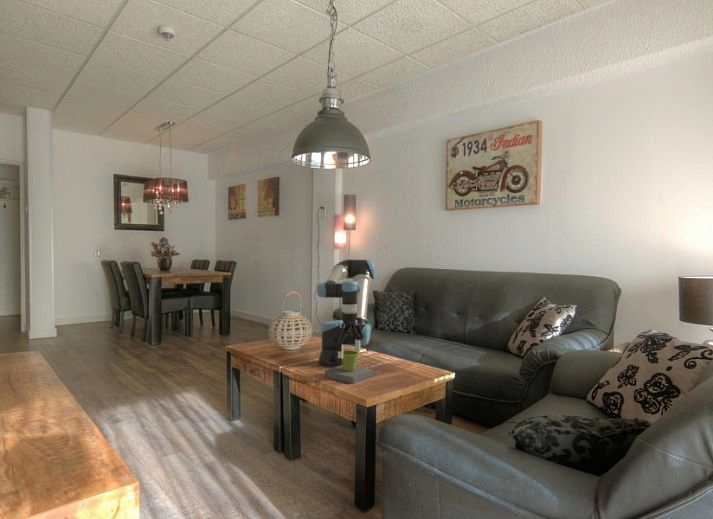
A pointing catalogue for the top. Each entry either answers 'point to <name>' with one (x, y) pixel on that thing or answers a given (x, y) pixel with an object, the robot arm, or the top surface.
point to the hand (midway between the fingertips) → (349, 355)
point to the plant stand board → (349, 374)
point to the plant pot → (349, 360)
